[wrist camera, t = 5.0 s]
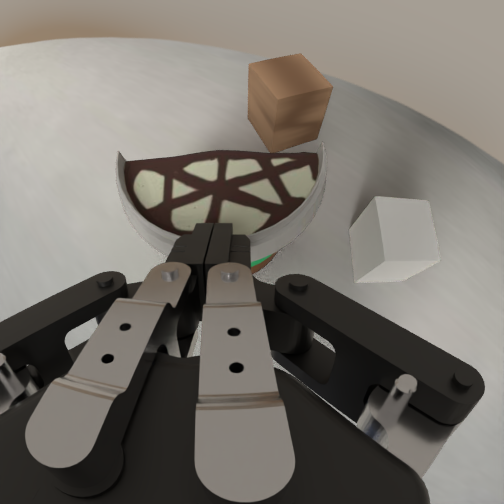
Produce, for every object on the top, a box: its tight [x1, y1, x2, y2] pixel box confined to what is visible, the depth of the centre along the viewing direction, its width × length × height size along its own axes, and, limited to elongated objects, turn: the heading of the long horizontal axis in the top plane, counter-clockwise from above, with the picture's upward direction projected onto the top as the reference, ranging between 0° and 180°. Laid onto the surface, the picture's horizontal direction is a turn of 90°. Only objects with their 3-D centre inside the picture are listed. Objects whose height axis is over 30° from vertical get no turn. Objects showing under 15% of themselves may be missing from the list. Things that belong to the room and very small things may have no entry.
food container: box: [116, 142, 327, 274], centre depth 19 cm, size 12×6×10 cm, turn 92°
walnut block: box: [248, 54, 333, 153], centre depth 25 cm, size 5×5×7 cm
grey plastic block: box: [349, 196, 441, 283], centre depth 21 cm, size 4×4×6 cm
